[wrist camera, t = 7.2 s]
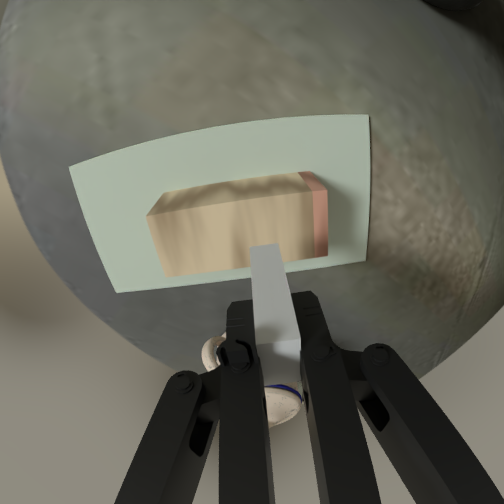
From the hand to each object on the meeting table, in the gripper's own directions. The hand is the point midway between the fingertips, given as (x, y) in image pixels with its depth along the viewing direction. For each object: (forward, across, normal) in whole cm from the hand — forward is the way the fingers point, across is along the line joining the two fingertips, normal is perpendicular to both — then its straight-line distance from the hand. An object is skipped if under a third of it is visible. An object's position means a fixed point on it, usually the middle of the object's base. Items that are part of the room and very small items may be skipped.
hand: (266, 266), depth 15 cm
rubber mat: (+9, -3, 0) cm, 10 cm away
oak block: (+7, -7, 0) cm, 10 cm away
